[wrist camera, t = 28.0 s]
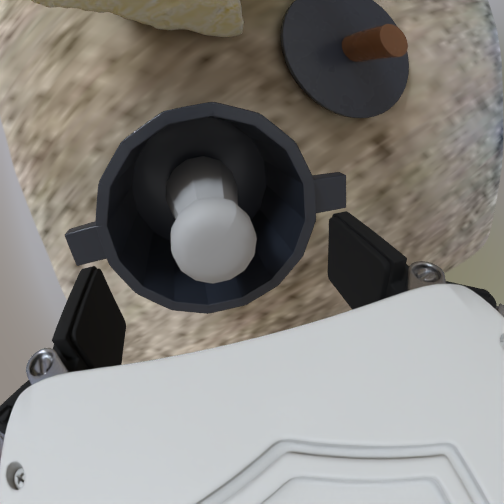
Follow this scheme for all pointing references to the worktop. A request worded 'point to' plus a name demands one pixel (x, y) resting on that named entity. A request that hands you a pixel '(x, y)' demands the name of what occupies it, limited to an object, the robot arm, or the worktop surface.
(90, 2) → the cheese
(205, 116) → the pot
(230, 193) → the salt shaker
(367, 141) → the worktop surface
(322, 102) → the lid
